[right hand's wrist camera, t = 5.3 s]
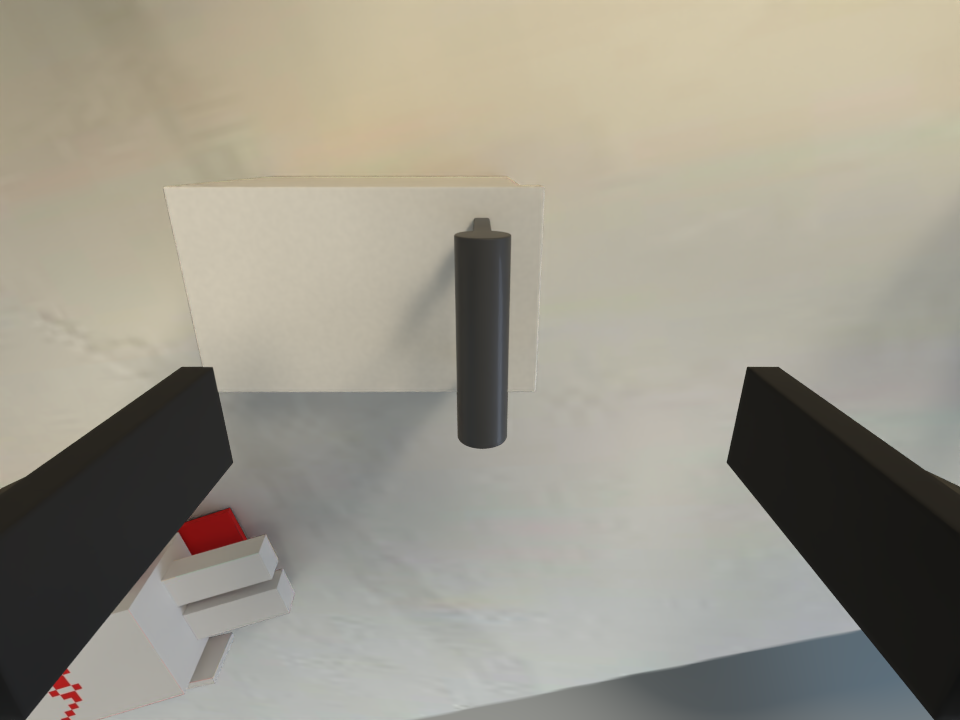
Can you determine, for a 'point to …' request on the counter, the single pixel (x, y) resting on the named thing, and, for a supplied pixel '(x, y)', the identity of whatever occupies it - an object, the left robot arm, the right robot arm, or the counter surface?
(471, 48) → the counter surface
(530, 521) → the counter surface
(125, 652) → the toy
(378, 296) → the lid
